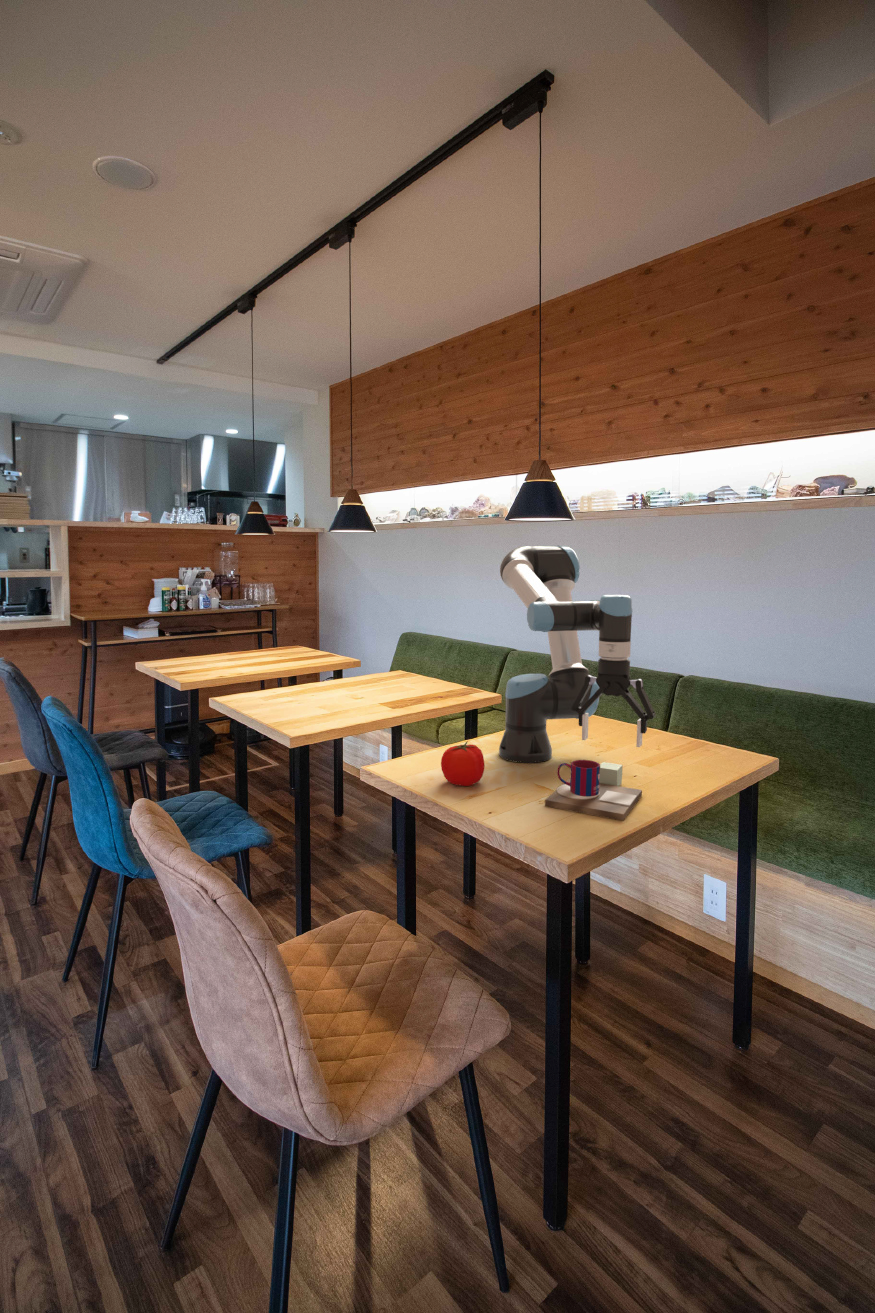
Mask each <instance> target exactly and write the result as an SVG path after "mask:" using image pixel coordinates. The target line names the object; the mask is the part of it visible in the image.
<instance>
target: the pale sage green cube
mask: <svg viewBox="0 0 875 1313" xmlns="http://www.w3.org/2000/svg"><path fill="white" fill-rule="evenodd" d="M599 764H600V783H603V784H609V785H615V786H621V785H622V783H623V764H619V763H612V762H605V761H603V762H601V763H599Z"/></svg>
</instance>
